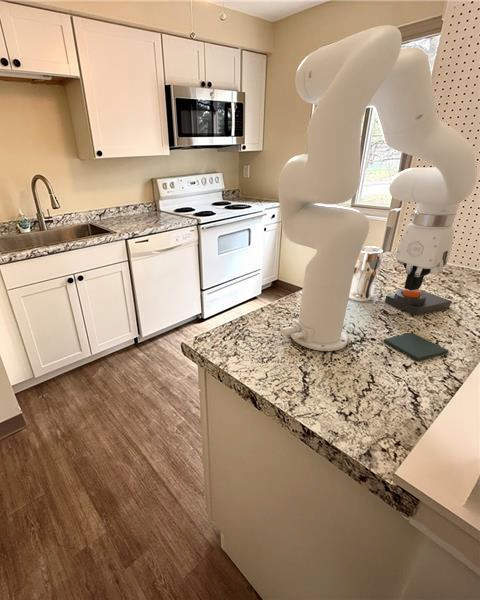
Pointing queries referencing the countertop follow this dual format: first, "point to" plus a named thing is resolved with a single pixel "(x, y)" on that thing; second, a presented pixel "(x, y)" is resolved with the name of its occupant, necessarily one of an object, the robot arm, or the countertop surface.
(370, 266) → the beer glass
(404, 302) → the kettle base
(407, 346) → the mat
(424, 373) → the countertop surface
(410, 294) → the switch
